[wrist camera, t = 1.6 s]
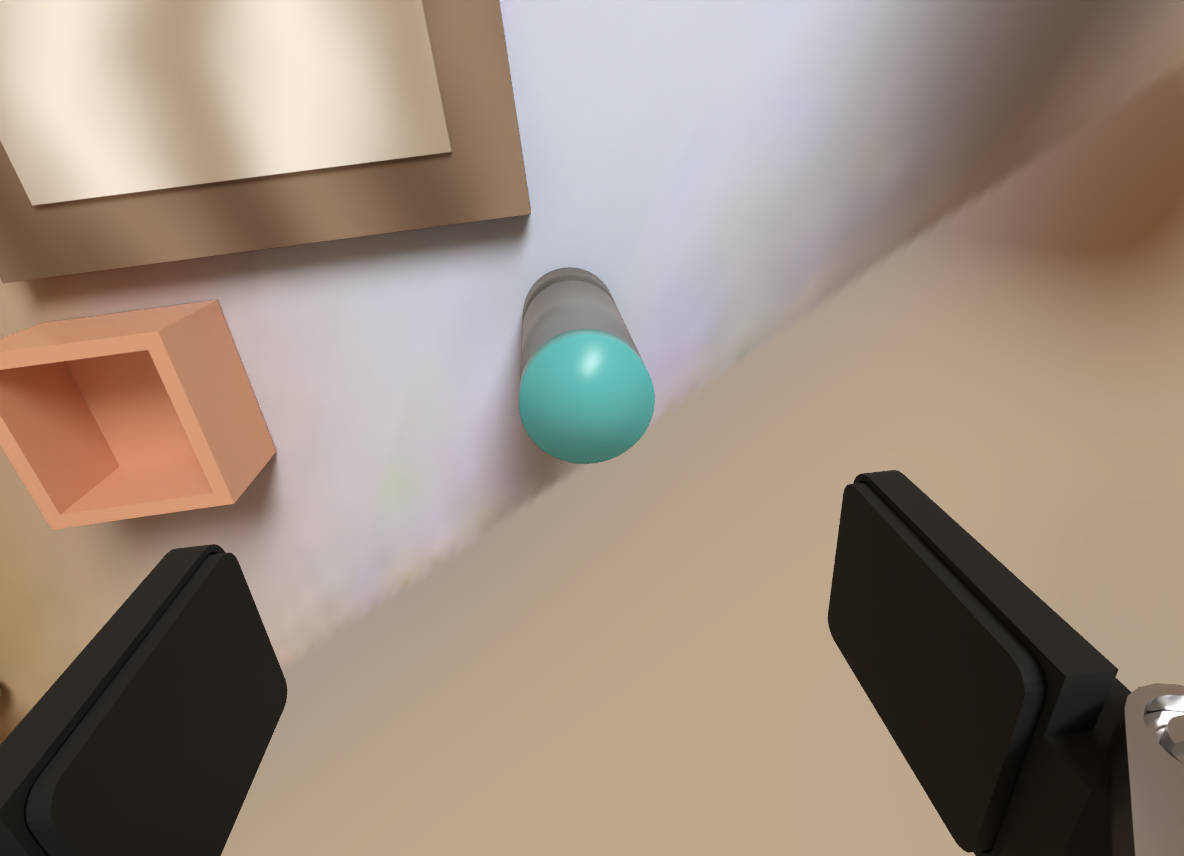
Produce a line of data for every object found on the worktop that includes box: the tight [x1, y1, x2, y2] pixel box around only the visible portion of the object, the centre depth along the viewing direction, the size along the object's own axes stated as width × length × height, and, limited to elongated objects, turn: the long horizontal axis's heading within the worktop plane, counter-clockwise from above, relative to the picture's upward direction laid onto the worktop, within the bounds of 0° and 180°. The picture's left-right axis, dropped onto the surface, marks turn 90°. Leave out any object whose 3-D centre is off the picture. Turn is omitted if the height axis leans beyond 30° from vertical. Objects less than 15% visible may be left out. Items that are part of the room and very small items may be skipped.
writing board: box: [0, 0, 531, 283], centre depth 21 cm, size 20×15×2 cm
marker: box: [519, 268, 655, 464], centre depth 23 cm, size 4×4×10 cm
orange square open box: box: [0, 300, 276, 530], centre depth 25 cm, size 7×7×4 cm
